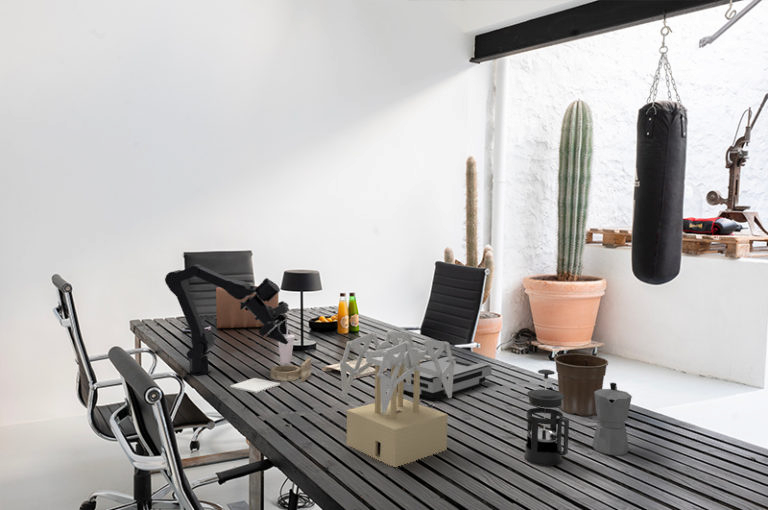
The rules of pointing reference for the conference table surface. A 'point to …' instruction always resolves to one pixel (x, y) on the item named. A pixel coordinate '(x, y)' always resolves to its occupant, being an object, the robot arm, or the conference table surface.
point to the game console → (462, 378)
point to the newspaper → (366, 372)
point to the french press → (541, 440)
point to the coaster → (254, 385)
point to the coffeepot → (611, 421)
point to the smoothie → (286, 348)
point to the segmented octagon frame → (292, 371)
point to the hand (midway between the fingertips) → (289, 341)
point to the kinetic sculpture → (396, 400)
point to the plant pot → (579, 381)
